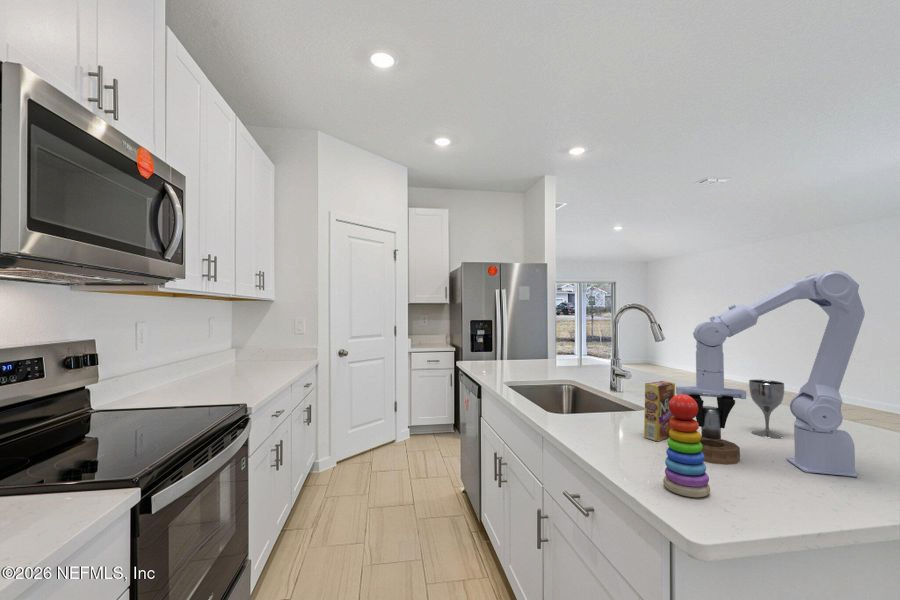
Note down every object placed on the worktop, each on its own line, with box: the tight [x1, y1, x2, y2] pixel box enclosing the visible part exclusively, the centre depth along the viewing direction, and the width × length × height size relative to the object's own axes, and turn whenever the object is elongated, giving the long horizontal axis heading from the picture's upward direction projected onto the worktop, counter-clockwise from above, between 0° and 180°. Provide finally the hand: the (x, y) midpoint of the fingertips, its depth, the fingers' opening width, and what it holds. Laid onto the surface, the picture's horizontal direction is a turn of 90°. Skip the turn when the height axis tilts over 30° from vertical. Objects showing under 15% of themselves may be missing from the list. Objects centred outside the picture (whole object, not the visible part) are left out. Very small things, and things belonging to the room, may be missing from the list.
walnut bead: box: [700, 436, 741, 465], centre depth 98 cm, size 11×11×3 cm
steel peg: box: [700, 405, 722, 440], centre depth 98 cm, size 4×4×7 cm
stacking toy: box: [662, 394, 711, 498], centre depth 79 cm, size 8×8×19 cm
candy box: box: [643, 380, 676, 442], centre depth 112 cm, size 9×4×15 cm, turn 123°
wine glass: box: [748, 379, 785, 439], centre depth 115 cm, size 8×8×15 cm
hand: (710, 426), depth 98 cm, fingers closed on steel peg, 4 cm apart
